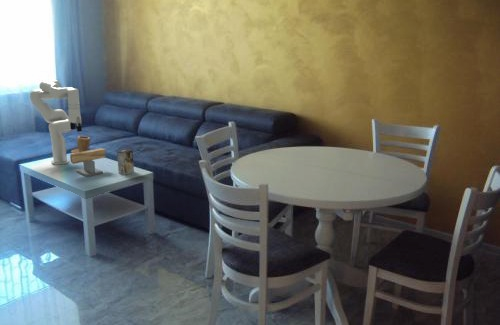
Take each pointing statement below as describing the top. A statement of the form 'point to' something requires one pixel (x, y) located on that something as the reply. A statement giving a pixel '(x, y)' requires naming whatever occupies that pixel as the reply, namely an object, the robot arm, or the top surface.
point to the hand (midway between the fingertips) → (76, 130)
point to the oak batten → (87, 155)
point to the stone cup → (82, 144)
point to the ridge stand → (89, 169)
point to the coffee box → (125, 161)
